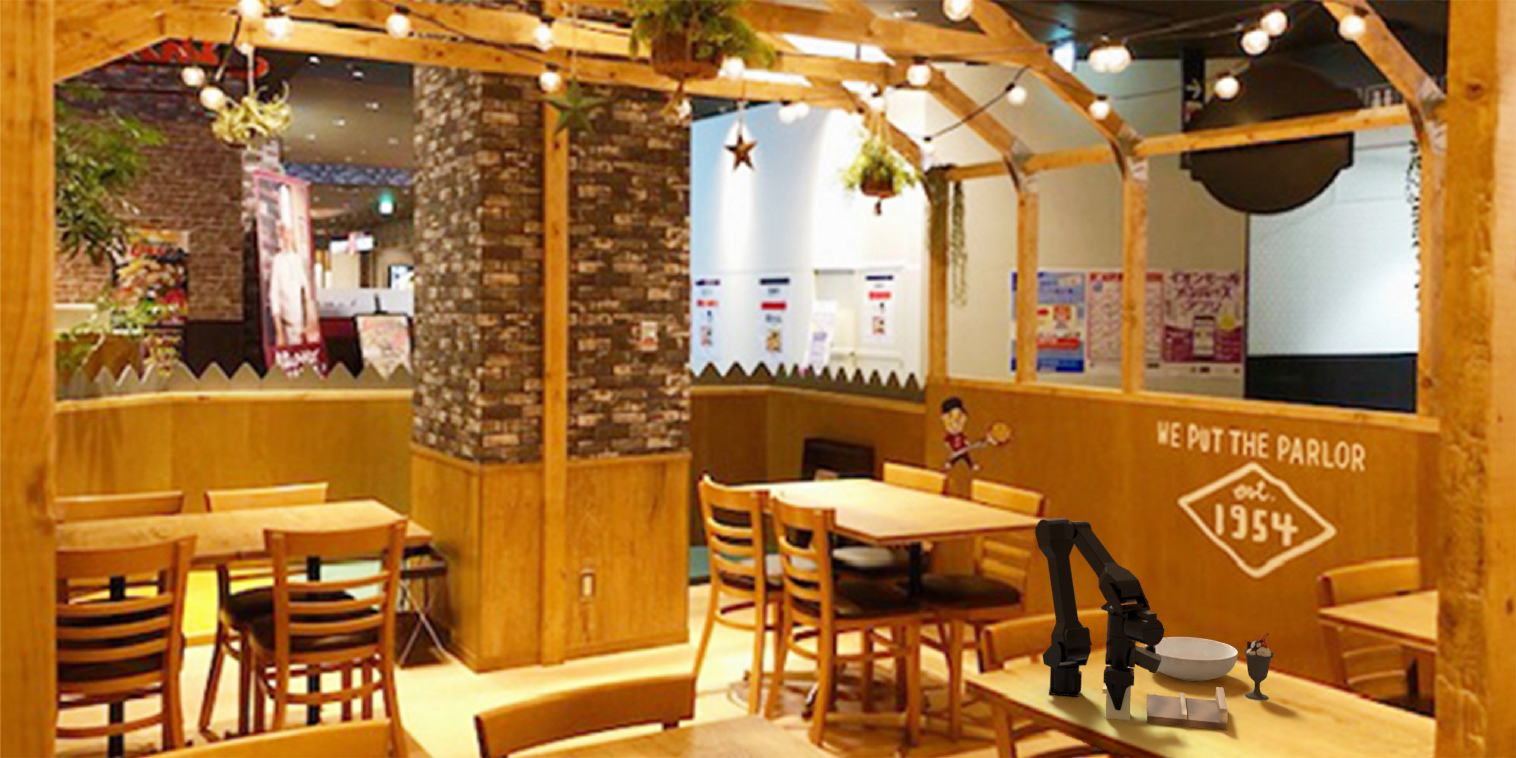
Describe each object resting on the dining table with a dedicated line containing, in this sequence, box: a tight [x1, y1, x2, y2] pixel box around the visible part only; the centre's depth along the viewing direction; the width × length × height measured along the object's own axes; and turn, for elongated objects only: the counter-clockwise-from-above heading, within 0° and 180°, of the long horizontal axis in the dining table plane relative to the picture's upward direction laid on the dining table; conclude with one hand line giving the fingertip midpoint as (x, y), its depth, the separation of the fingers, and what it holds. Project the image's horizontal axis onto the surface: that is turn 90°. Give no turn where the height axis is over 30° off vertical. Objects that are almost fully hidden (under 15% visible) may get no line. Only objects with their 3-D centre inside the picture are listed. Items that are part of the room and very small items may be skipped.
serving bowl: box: [1144, 636, 1239, 682], centre depth 325 cm, size 21×21×7 cm
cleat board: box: [1146, 686, 1229, 731], centre depth 295 cm, size 16×16×4 cm
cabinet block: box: [1102, 684, 1132, 721], centre depth 294 cm, size 6×5×8 cm
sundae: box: [1242, 632, 1275, 701], centre depth 308 cm, size 7×7×15 cm
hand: (1118, 706), depth 294 cm, fingers closed on cabinet block, 5 cm apart
